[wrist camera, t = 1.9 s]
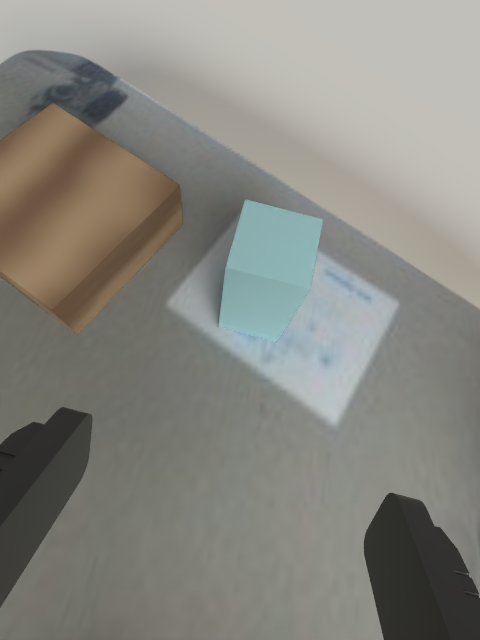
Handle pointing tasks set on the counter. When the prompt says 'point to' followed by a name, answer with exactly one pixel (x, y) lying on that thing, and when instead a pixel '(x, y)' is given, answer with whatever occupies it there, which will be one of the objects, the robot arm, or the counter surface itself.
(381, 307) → the counter surface
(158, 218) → the walnut block
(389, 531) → the robot arm
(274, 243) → the teal block
